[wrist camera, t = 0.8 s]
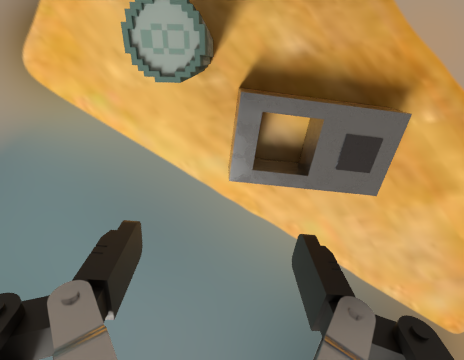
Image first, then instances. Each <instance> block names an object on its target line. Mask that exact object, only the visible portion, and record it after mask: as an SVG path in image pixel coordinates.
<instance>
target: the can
mask: <svg viewBox="0 0 464 360" xmlns="http://www.w3.org/2000/svg"><path fill="white" fill-rule="evenodd" d="M129 3H130V9H125V15H126V22H121V27H122V33H123V40H124V47H125V53H130V54H131V58H132V65H138V71H144V76H148V77H155V82H175V83H181V82H183V81H185V80H187V79H189V78H191V77H193V76H195V75H197V74H198V73H200V72H202V71H204V68H207V65H208V64H210V57H213V39H212V37H211V35H210V32H209V30H208V28H207V26H206V24H205V22H204V20H203V18H202V16H201V15H200V13H199V11H196V9H195V7H194V5H193V4H191V3H190V2H189V0H135V2H129Z"/></svg>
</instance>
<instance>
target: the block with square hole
mask: <svg viewBox="0 0 464 360" xmlns="http://www.w3.org/2000/svg"><path fill="white" fill-rule="evenodd" d="M262 112H269V113H277V114H285V115H293V116H301V117H309V118H310V121H309V125H308V129H307V133H306V136H305V140H304V144H303V148H302V152H301V156H300V159H299V163H295V162H286V161H277V160H268V159H259V158H254V157H255V152H256V146H257V140H258V135H259V129H260V123H261V118H262ZM411 115H412V114H410V113H406V112H403V111H399V110H396V109H392V108H389V107H381V106H374V105H366V104H359V103H351V102H343V101H336V100H328V99H321V98H313V97H306V96H298V95H291V94H283V93H276V92H268V91H260V90H253V89H245V88H239V91H238V98H237V106H236V114H235V121H234V129H233V137H232V144H231V152H230V160H229V181H236V182H246V183H255V184H265V185H275V186H285V187H294V188H304V189H314V190H324V191H333V192H343V193H353V194H363V195H372V196H377V194H378V191H379V189H380V187H381V184H382V182H383V180H384V178H385V175H386V173H387V171H388V168H389V166H390V164H391V161H392V159H393V157H394V154H395V152H396V150H397V147H398V145H399V143H400V141H401V138H402V136H403V134H404V131H405V129H406V127H407V124H408V122H409V120H410V117H411Z"/></svg>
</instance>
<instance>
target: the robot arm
mask: <svg viewBox="0 0 464 360" xmlns="http://www.w3.org/2000/svg"><path fill="white" fill-rule="evenodd" d="M141 253H142V233H141V223H140V222H139V221H127V220H124V221H123V222H122V223H121V225H120V227H119V228H118V230H110V231H109V232H107V233H106V234H105V235H103V236H102V237H101V238H100V240H99V241H98V243H97V244H96V247H94V249H93V251H92V252H91V254H90V255H89V256H88V258H87V259H86V261H85V262H84V264H83V265H82V267H81V268H80V269H79V271H78V272H77V274H76V275H75V277H74V279H73V280H72V281H70V282H67V283H65V284H63V285H61V286H59V287H58V288H56V289H55V290H54V291H53V292H52V293H51V295H49V296H45V297H41V298H36V299H31V300H26V301H21V299H20V297H19V296H18V295H17V294H14V293H3V294H0V360H39V359H42V358H46V357H50V356H53V360H117V357H116V354H115V351H114V348H113V345H112V343H111V339H110V336H109V333H108V331H107V328H106V327H105V326H104V321H105V320H114V319H115V317H116V315H117V312H118V309H119V307H120V305H121V302H122V300H123V298H124V295H125V293H126V290H127V288H128V286H129V284H130V281H131V279H132V276H133V274H134V271H135V269H136V267H137V264H138V262H139V260H140V257H141ZM292 268H293V272H294V275H295V278H296V282H297V285H298V288H299V291H300V295H301V298H302V301H303V305H304V308H305V311H306V315H307V318H308V321H309V325H310V328H311V330H312V331H320V332H321V334H322V339H321V341H320V344H319V346H318V349H317V351H316V354H315V356H314V359H313V360H454V358H453V357H452V356H451V354H450V353H449V351H448V350H447V348H446V347H445V345H444V344H443V343H442V341H441V340H440V338H439V337H438V335H437V334H436V333H435V331H434V330H433V329H432V328H431V327H430V326H428V325H427V324H426V323H425V322H423V321H421V320H419V319H418V318H415V317H412V316H402V317H400V318H399V320H398V321H397V322H395V321H392V320H389V319H386V318H383V317H380V316H377V315H375V314H374V312H373V311H372V309H371V308H370V307H369V306H368V305H367V304H366V303H365V302H363V301H362V300H360V299H358V298H356V297H355V295H354V293H353V291H352V289H351V287H350V286H349V284H348V282H347V280H346V278H345V276H344V274H343V272H342V271H341V269H340V266H339V265H338V264H337V261H336V259H335V257H334V255H333V253H332V252H331V251H330V250H329V249H328V248H327V247H326V246H320V244H319V242H318V239H317V237H316V236H315V235H307V234H300V235H299V236H298V239H297V242H296V246H295V249H294V252H293V256H292Z"/></svg>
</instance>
